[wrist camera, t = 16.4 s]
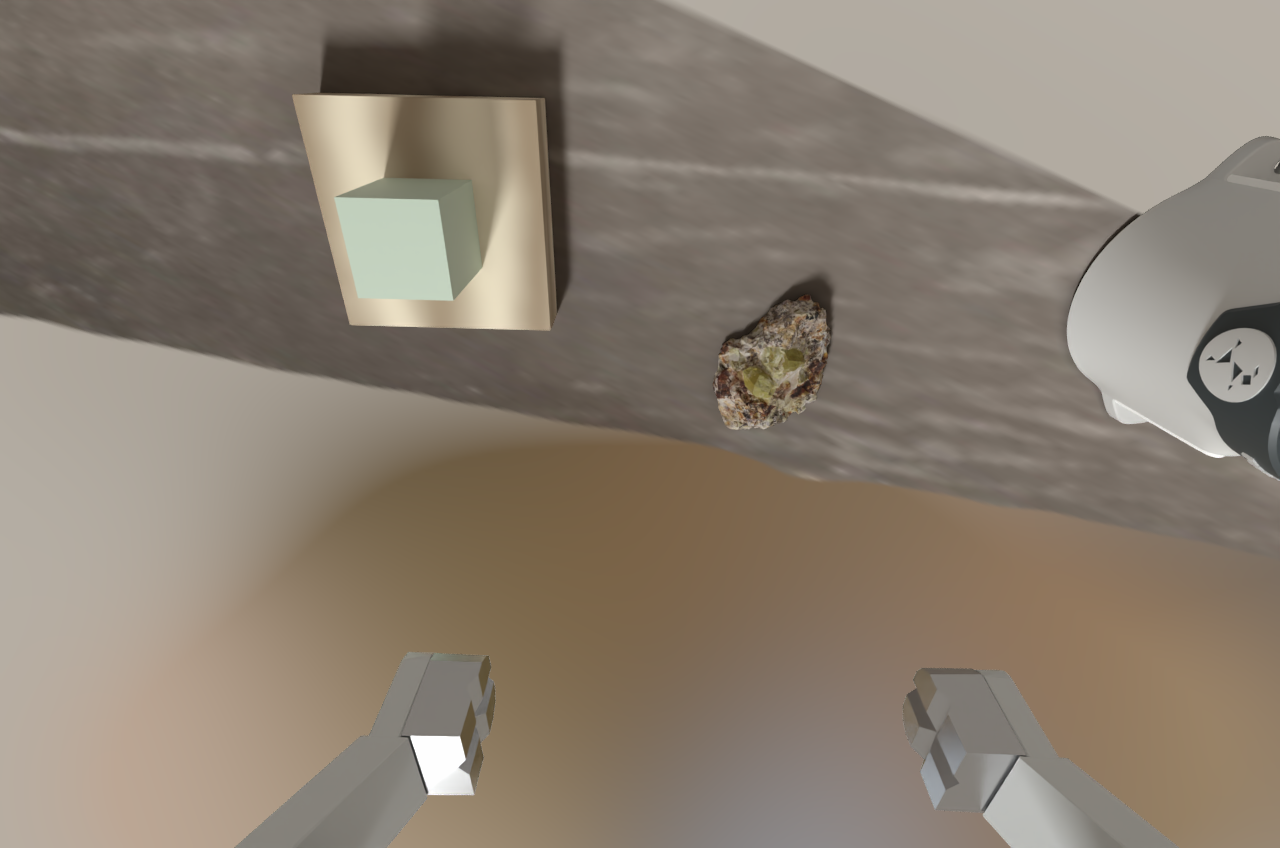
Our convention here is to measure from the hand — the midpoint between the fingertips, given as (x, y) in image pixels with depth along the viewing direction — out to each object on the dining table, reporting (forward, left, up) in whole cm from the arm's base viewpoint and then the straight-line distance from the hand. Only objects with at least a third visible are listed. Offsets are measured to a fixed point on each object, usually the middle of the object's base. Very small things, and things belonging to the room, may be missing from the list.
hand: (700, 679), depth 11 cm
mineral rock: (-8, +8, -32) cm, 34 cm away
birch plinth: (+14, -2, -31) cm, 34 cm away
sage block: (+14, -2, -28) cm, 31 cm away
